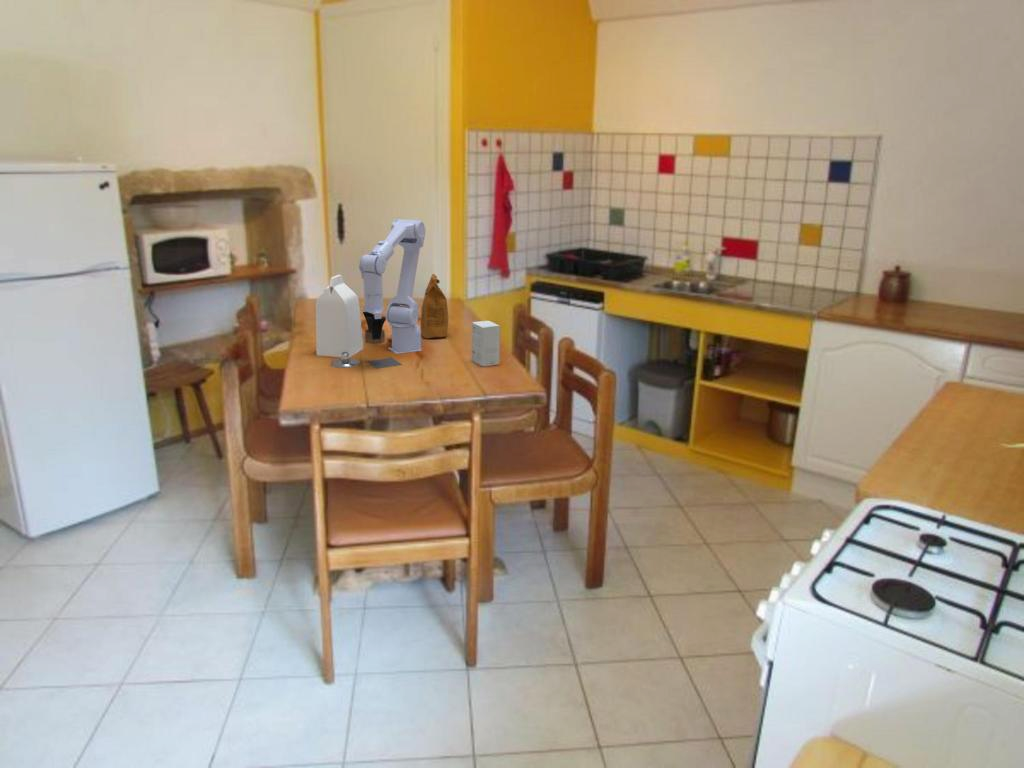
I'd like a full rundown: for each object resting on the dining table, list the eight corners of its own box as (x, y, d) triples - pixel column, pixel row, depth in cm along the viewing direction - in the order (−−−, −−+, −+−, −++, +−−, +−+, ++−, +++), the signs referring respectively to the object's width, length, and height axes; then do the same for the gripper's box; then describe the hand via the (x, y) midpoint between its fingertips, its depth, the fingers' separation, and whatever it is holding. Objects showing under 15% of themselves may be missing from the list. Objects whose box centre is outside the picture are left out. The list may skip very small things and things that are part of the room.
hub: (353, 360, 244) (353, 347, 242) (364, 367, 236) (363, 354, 235) (327, 363, 239) (326, 351, 238) (336, 371, 232) (336, 358, 231)
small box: (499, 364, 243) (500, 325, 238) (482, 367, 240) (482, 327, 235) (488, 358, 249) (488, 320, 245) (471, 360, 246) (471, 321, 242)
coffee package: (446, 330, 283) (446, 272, 276) (449, 339, 271) (448, 279, 264) (420, 331, 281) (419, 273, 274) (421, 339, 270) (420, 279, 263)
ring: (382, 338, 240) (382, 328, 239) (385, 343, 235) (385, 332, 234) (364, 339, 238) (363, 329, 237) (367, 344, 233) (367, 333, 232)
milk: (349, 359, 244) (345, 280, 236) (316, 356, 246) (311, 278, 238) (363, 350, 255) (360, 274, 247) (332, 347, 257) (327, 272, 249)
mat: (391, 359, 245) (391, 357, 245) (402, 366, 238) (402, 364, 238) (365, 363, 241) (365, 361, 240) (376, 370, 234) (376, 368, 233)
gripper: (356, 289, 237) (358, 331, 241) (364, 299, 224) (366, 342, 228) (378, 288, 239) (380, 330, 243) (387, 297, 226) (388, 341, 231)
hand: (374, 336), depth 236 cm, fingers closed on ring, 6 cm apart
